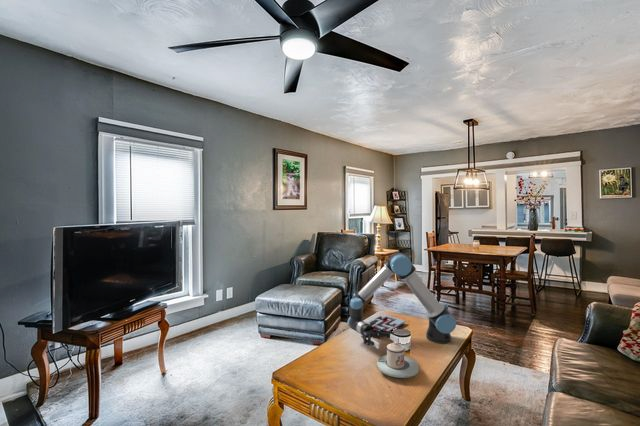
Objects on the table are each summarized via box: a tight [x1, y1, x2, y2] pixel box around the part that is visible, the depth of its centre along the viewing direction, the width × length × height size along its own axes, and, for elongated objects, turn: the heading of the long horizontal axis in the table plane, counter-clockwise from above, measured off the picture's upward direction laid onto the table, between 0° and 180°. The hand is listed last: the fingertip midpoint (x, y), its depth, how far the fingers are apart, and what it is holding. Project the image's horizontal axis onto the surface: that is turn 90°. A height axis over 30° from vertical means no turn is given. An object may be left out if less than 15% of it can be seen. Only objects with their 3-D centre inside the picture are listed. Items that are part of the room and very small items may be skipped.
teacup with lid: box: [386, 341, 406, 369], centre depth 159 cm, size 12×9×12 cm
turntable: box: [376, 354, 420, 379], centre depth 159 cm, size 21×21×2 cm
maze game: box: [365, 314, 407, 339], centre depth 217 cm, size 35×20×3 cm, turn 136°
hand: (388, 343), depth 165 cm, fingers open, 13 cm apart
